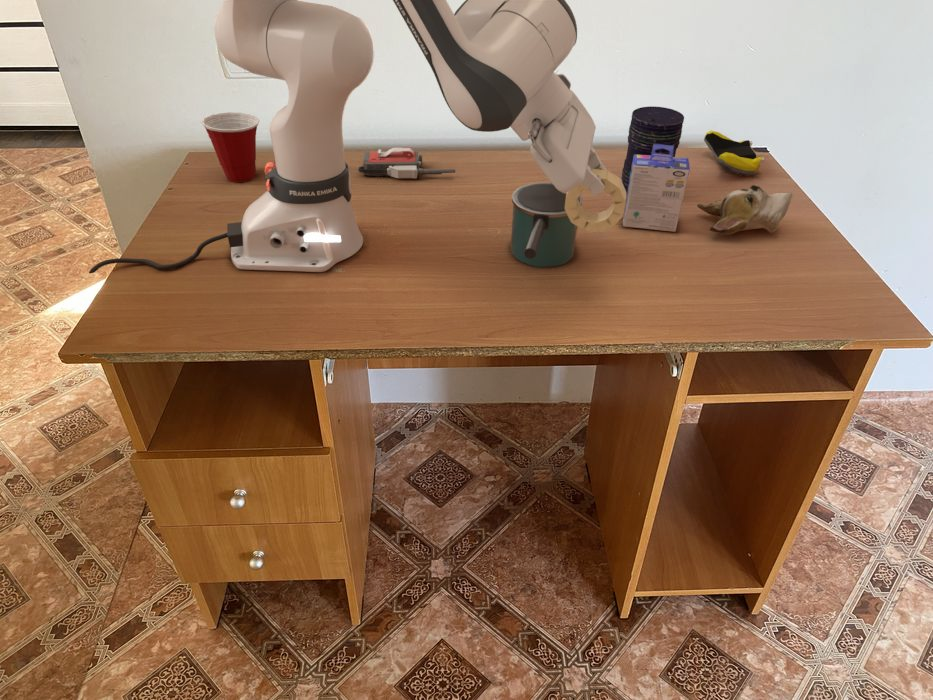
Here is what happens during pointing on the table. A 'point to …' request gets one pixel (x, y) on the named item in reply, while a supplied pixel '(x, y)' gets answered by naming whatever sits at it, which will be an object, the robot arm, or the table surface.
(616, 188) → the tape roll
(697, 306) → the table surface
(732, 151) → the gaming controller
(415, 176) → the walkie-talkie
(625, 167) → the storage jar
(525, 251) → the saucepan
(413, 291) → the table surface
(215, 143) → the plastic cup
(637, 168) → the ink cartridge box
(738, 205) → the ceramic sculpture
